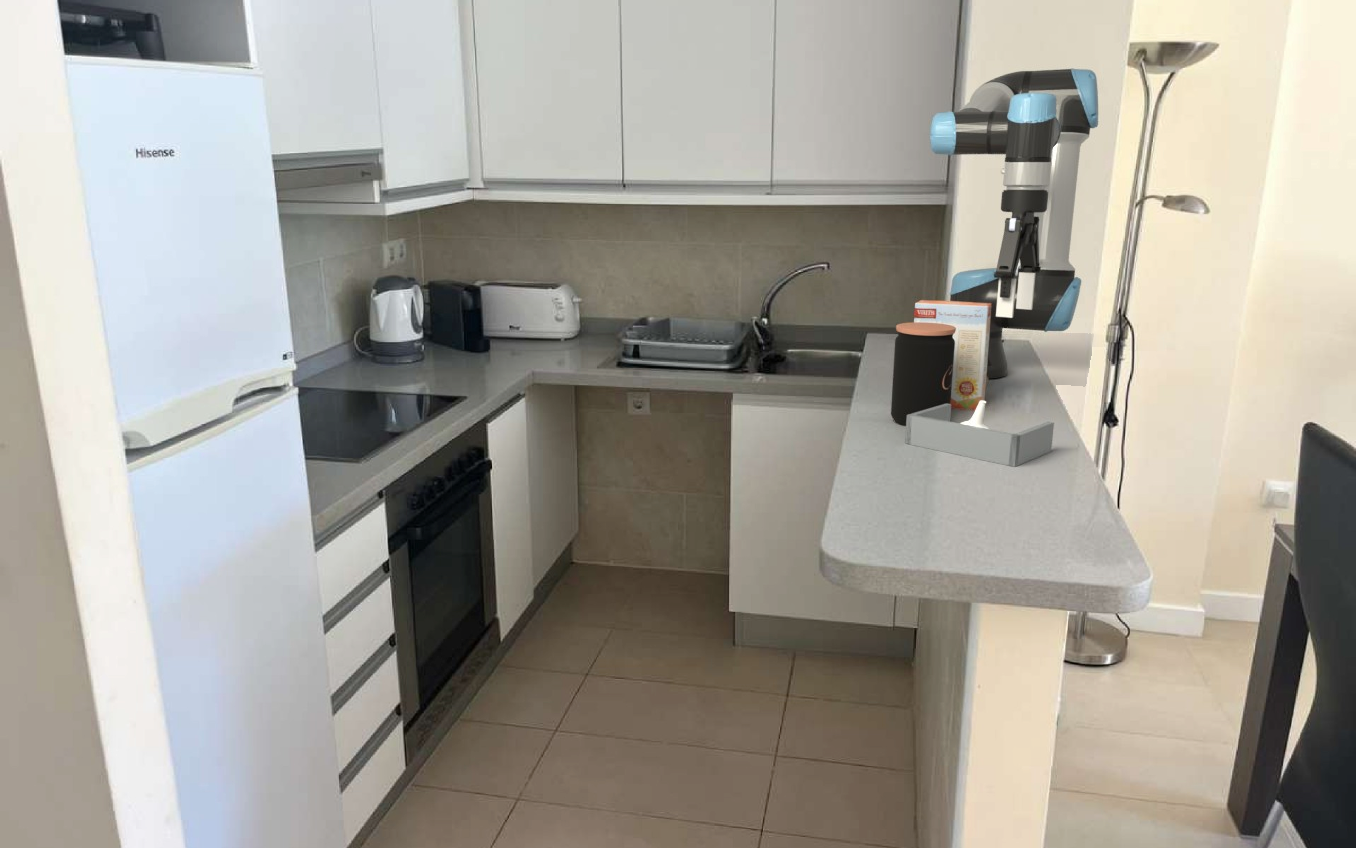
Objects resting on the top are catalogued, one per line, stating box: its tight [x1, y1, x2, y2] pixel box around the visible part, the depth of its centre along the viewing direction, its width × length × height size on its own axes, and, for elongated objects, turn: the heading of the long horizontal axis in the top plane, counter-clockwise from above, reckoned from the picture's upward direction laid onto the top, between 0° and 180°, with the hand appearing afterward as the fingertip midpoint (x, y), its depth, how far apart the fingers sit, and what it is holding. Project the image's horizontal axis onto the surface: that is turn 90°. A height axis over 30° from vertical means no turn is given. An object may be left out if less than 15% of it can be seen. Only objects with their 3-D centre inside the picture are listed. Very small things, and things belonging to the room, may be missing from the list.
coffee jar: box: [890, 321, 956, 427], centre depth 185 cm, size 11×11×18 cm
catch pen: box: [904, 403, 1055, 468], centre depth 169 cm, size 13×20×5 cm, turn 45°
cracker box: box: [913, 299, 991, 411], centre depth 197 cm, size 14×6×21 cm, turn 66°
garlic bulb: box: [959, 400, 990, 429], centre depth 168 cm, size 6×6×8 cm
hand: (1014, 312), depth 175 cm, fingers open, 13 cm apart
